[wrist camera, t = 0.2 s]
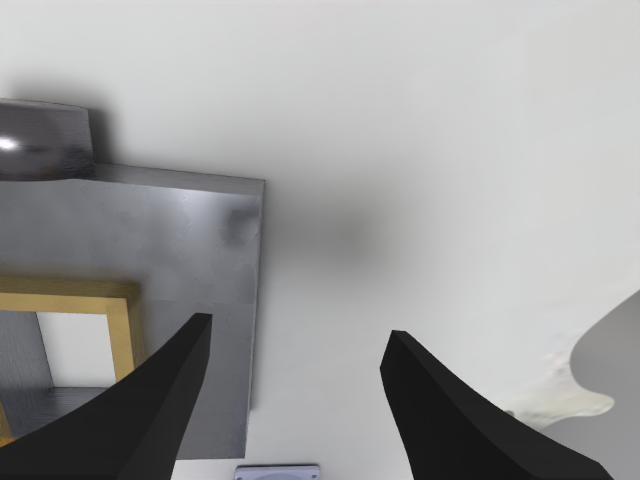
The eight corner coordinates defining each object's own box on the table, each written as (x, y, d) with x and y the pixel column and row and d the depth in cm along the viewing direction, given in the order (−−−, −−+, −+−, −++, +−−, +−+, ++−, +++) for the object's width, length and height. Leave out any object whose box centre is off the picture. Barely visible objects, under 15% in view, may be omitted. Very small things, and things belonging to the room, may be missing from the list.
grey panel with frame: (249, 411, 27) (242, 480, 22) (-47, 411, 24) (-135, 492, 19) (267, 129, 19) (262, 138, 14) (-187, 72, 16) (-411, 55, 11)
